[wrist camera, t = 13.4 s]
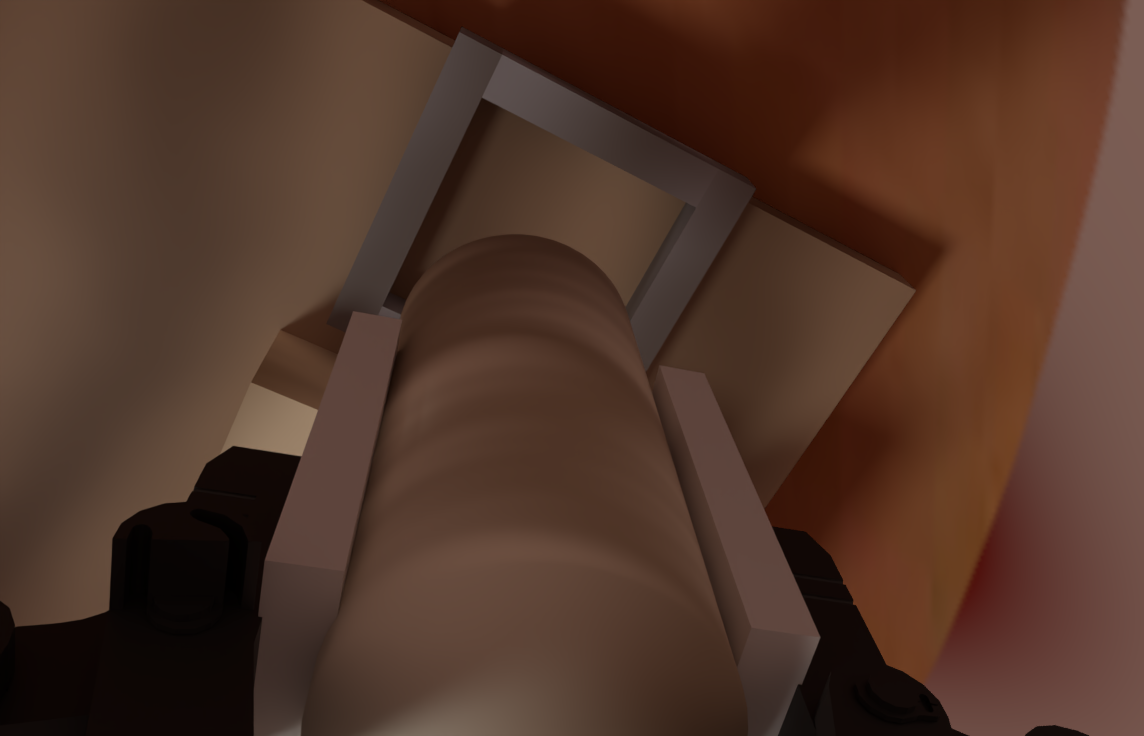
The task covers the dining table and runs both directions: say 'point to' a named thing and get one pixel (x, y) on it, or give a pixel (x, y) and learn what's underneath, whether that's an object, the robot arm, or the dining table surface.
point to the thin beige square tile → (283, 397)
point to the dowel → (523, 526)
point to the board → (338, 243)
